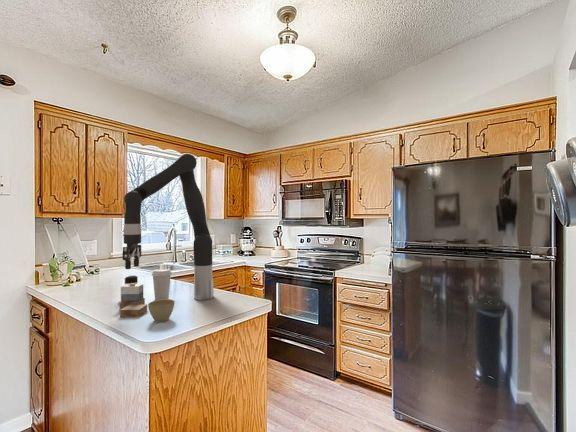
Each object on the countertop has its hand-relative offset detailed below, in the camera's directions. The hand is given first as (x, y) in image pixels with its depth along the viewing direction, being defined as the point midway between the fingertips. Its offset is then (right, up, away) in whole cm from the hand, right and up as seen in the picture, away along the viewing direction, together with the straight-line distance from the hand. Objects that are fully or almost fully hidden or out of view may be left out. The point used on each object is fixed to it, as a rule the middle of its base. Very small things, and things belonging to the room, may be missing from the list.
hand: (132, 267), depth 147 cm
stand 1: (0, -18, 0) cm, 18 cm away
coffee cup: (+9, -19, +13) cm, 24 cm away
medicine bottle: (-7, -19, +13) cm, 24 cm away
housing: (0, -15, 0) cm, 15 cm away
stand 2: (+7, -18, -12) cm, 23 cm away
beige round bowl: (+22, -18, -20) cm, 35 cm away
